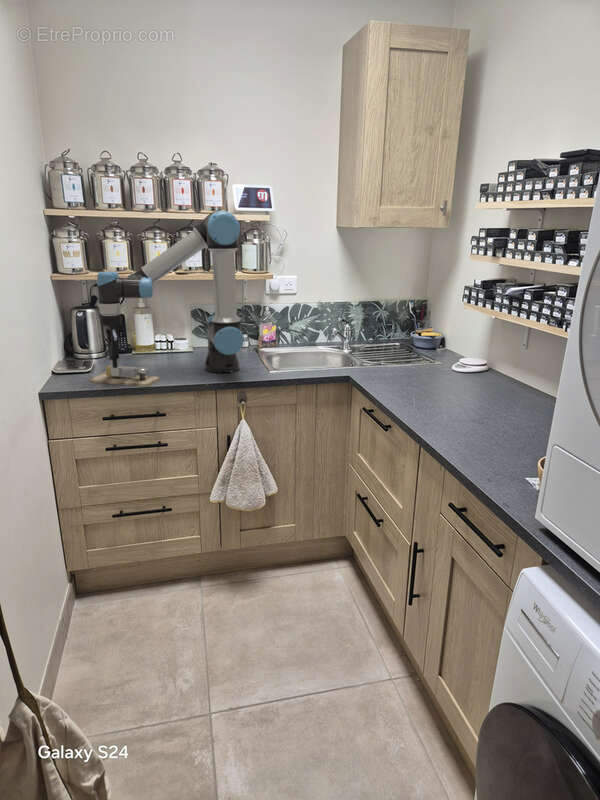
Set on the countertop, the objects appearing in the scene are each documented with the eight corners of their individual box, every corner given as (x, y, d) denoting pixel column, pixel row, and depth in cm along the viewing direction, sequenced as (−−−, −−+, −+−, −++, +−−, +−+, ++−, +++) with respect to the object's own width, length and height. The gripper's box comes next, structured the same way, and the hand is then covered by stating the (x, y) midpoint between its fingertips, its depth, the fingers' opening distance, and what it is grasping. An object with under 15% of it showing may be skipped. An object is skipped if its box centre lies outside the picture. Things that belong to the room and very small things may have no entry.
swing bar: (149, 376, 214) (149, 367, 213) (145, 379, 210) (144, 370, 208) (110, 373, 215) (110, 364, 214) (105, 376, 211) (104, 367, 210)
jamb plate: (159, 379, 217) (159, 370, 215) (149, 386, 207) (149, 377, 206) (135, 377, 218) (135, 369, 217) (124, 384, 208) (124, 375, 207)
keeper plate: (138, 376, 220) (137, 366, 218) (124, 384, 208) (124, 374, 207) (105, 373, 221) (104, 364, 220) (90, 382, 210) (89, 372, 209)
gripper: (124, 316, 199) (128, 378, 206) (117, 311, 210) (121, 370, 217) (103, 317, 196) (108, 380, 203) (97, 312, 206) (102, 372, 213)
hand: (115, 375), depth 210 cm, fingers closed
